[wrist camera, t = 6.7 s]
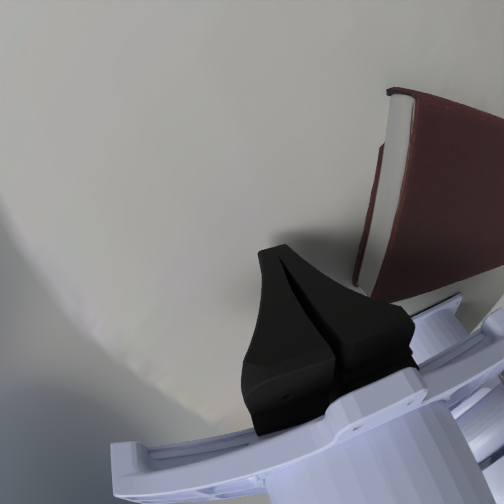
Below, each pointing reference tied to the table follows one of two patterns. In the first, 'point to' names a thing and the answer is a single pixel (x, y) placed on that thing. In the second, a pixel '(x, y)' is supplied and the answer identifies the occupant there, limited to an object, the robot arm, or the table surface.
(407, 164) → the book
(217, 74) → the table surface
